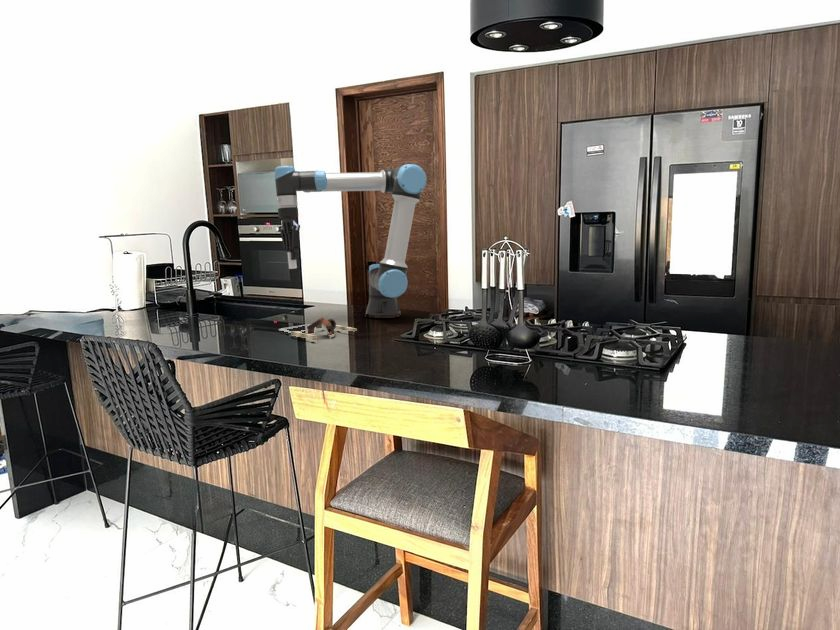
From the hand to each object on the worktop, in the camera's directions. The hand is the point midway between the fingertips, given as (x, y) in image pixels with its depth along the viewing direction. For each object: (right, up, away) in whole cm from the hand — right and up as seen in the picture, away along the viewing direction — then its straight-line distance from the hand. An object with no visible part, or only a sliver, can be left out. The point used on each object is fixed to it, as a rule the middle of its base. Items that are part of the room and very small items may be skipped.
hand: (292, 268), depth 241 cm
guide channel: (+14, -26, -14) cm, 33 cm away
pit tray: (+4, -25, -5) cm, 25 cm away
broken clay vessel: (+14, -26, -14) cm, 33 cm away
